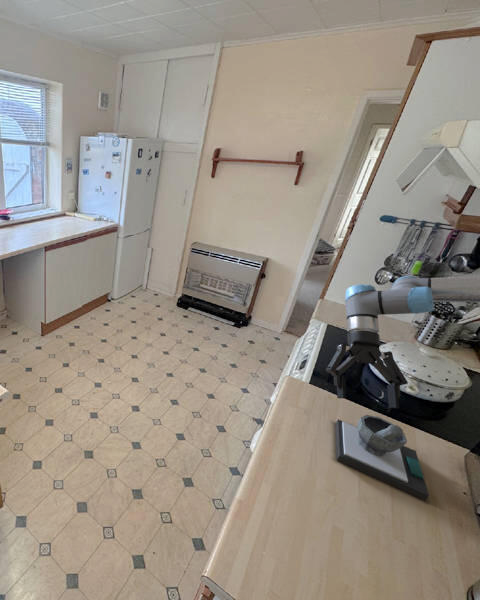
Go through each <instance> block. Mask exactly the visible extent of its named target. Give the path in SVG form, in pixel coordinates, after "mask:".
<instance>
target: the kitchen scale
mask: <svg viewBox="0 0 480 600" xmlns="http://www.w3.org/2000/svg"><path fill="white" fill-rule="evenodd" d="M334 426H335V451H336V452H335V453H336V461H337V462H340V463H341V464H344V465H345V466H348V467H350V468H353V469H355V470H357V471H359V472H361V473H363V474H366V475H368V476H370V477H372V478H374V479H377V480H379V481H381V482H383V483H385V484H386V485H387V484H388V485H390V486H392V487H394V488H396V489H398V490H400V491H402V492H405V493H407V494H409V495H412V496H414V497H416V498H418V499H420V500H422V501H424V502H425V501H426V500H427V499H428V498H429V497H430V493H429V490H428V487H427V483H426V480H425V477H424V473H423V470H422V467H421V464H420V461H419V458H418V453H417V450H415V449H412V448H410V447H407V446H405V445H404V446H402V447H401V448H400V449H398V450H396V451H393V452H386V454H385V455H383V456H377V455H373V454H371V453H369V452H368V451H366V450H364V449H363V448H362V447H361V446H360V445H359V444H358V440H357V439H358V437H359V433H358V428H357V425H356V426H355V425H354V424H351V423H348V422H346V421H343V420H342V419H337V420H336V422H335V424H334Z"/></svg>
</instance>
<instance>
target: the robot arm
mask: <svg viewBox="0 0 480 600" xmlns="http://www.w3.org/2000/svg"><path fill="white" fill-rule="evenodd" d="M344 302H345V315H346V332H347V334H346V336H347V345H346V344H345V343H341V344H338V345H336V351H335V353H334V355H333V357H332V358H331V360H330V362H329V364H328V365H327V367H326V369H325V371H326V372H327V373H330V374H331V376H333V385H334V386H335V387H336V398H337V399H339V400H340V399H347V389H346V388H347V387H346V375H343V374H344V373H345V372H346V371H347V370H348V369H350V367H351V366H352V365H354V364H355V363H362V364H366V365H371V366H372V367H374V368H375V370H376V371H377V372H378V373H379V374H380V375H381V377H383V379H384V380H385V381H386V382H387V383H388V384H387V385H386V390H387V391H386V392H387V402H388V409H400V401H399V398H400V397H401V386H404V385H408V383H409V382H408V379H406V377H405V375H404V374H403V371H402V370H401V369H400V367H399V365H398V364H397V362H396V360H395V359H394V355H393V352H392V351H391V350H389V351H381V350H380V346H381V340H380V339H381V338H380V334H379V333H380V325H379V316H384V315H407V314H408V315H410V314H415V315H417V314H423V313H431V312H433V311H434V310H435V304H434V303H480V276H455V277H454V276H452V277H448V276H447V277H421V278H419V277H417V276H412V275H403V276H401V277H399V278H397V279H395V281H393V283H392V284H391V285H390V288H389V289H386V290H385V289H384V290H376V287H375V286H373V285H371V284H355V285H351V286H349V287H347V289H346V290H345V300H344ZM346 353H349V356H348V357H347V358H346V359H345V360H344V361H343V362H342V359H343V358H344V356H345V355H346ZM341 362H342V363H341ZM340 363H341V364H340Z"/></svg>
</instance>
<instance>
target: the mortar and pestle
mask: <svg viewBox="0 0 480 600" xmlns="http://www.w3.org/2000/svg"><path fill="white" fill-rule="evenodd" d="M356 427H357V428H358V433H359V437H358V439H357V440H358V444H359V445H360V446H361V447H362V448H363V449H364V450H366V451H368V452H369V453H371V454H373V455H377V456H383V455H385V454H386V452H393V451H396V450H398V449H400V448H401V447H402V446H405V445H406V444H407V442H408V439H407V437H406V434H405V432H404V430H403V429H402V427H401V426H399V425H397V424H394V423H392V422H390V421H388V420H386V419H384V418H382V417H380V416H375V415H372V414H371V415H370V414H365V415H363V416H361V417H360V418H359V419H358V420H357V424H356Z"/></svg>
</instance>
